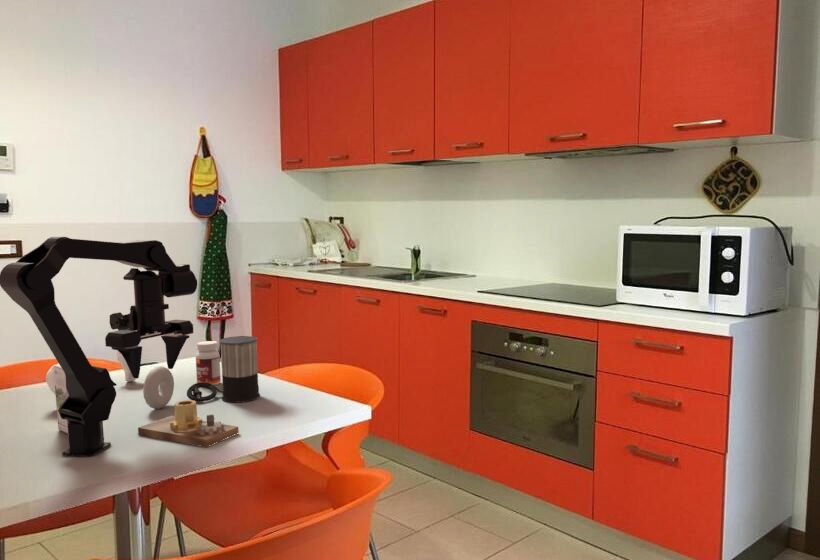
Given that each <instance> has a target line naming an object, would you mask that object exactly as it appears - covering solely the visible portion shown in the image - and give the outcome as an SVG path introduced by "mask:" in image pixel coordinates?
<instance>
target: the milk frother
mask: <svg viewBox="0 0 820 560" xmlns="http://www.w3.org/2000/svg"><path fill="white" fill-rule="evenodd" d="M257 341H258V337H256V336H251V335H249V336H248V335H237V336H229V337H223V338H221V339H219V343H220V355H221V357H220V358H221V359H220V361H221V375H222V376H221V378H222V381H221V382H222V389H220V388H218V386H216V385H212V384H209V383H205V382H200V383H197V382H196V383H193V384H192V385H190V386H189V388H187V391H186V396H187V398H188V399H189V400H194V401H196V402H207V401H211V400H213V399H215V397H216V396H217V394H218V392H219V393H221V394H222V396H221V400H222V401H223V402H227V403H245V402H251V401H254V400H257V399H259V398H260V396H261V394H260V391H259V390H260V389H259V388H260V387H259V374H258V368H259V367H258V348H257V347H258V346H257V344H258V343H257ZM202 388H203V389H208V390H210V391H211V392H210V394H208V395H207V396H206V395H205V396H202V395H203V392H202V391H201V390H200V389H202Z"/></svg>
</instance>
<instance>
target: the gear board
mask: <svg viewBox="0 0 820 560" xmlns="http://www.w3.org/2000/svg"><path fill="white" fill-rule="evenodd" d="M214 416H215V415H214V414H207V415H206V420H202V422H203V423H202V424H200V426H197V427H198V429H191V430H188V431H181V430H178V431H173V428H172V429H170V422H173V421H174V419H175V415H170V416H167V417H164V418H162V419H158V420H156V421H153V422H150V423H146V424H144V425H141V426H139V427H137V434H138V436H144V437H149V438H154V439H159V440H164V441H165V440H167V441H171V442H175V443H176V442H177V443H182V444H186V443H187V445H192V444H194V445H193V446H197V445H201V446H200V447H203V446H205V447H204V448H209V447H210V446H209V445H211V446H213V445H212V444H214V443H216V442H218V443H220V442H219V441H221V440H223V439H225V438H227V437H230V436H232V435H234V434H237V433H239V426H236V425H230V424H224V423H223V422H221V421H216V422H215V417H214ZM239 434H240V433H239ZM237 435H238V434H237ZM232 437H233V436H232ZM230 438H231V437H230ZM225 440H226V439H225ZM223 441H224V440H223ZM221 442H222V441H221ZM216 444H217V443H216ZM214 445H215V444H214ZM208 446H209V447H208Z"/></svg>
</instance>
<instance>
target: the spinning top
mask: <svg viewBox="0 0 820 560" xmlns="http://www.w3.org/2000/svg"><path fill="white" fill-rule="evenodd" d="M45 382H46V384H47V386H48V388H49V389H50V391H51V392H52V393H53V394H54V395H55V396H56V394H55V382H54V370H53V365H52V366H51V367H50V368H49V370H48V371H47V373H46V376H45Z"/></svg>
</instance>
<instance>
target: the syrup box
mask: <svg viewBox="0 0 820 560" xmlns="http://www.w3.org/2000/svg"><path fill="white" fill-rule="evenodd" d="M52 366H53V370H54V382H55V394H56V395H55V394H54V395H55V404H56V405H55V406H56V416H57V417H56V418H57V429H58V431H60V432H62V433H64V434H67V435H68V423H69V420H66V419H62V418H61V416H60V414H59V412H58V409H59V408H60V407H61V405H62V404H63V403H64V401H65V400H66V399H67V397H68V396H69V394H68V391H67V388H66V375H65V373H64V371H63V369H62V368H61V366H60V364H59V363H56V364H53V365H52Z"/></svg>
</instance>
